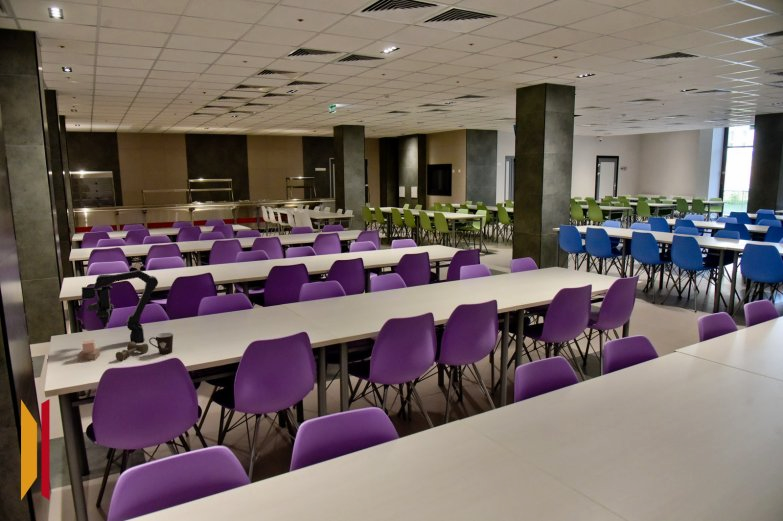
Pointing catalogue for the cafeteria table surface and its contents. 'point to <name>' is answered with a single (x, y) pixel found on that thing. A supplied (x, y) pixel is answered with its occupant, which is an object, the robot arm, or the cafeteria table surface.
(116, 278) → the robot arm
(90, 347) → the terracotta cube
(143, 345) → the kendama
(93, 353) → the walnut box
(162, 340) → the coffee mug
